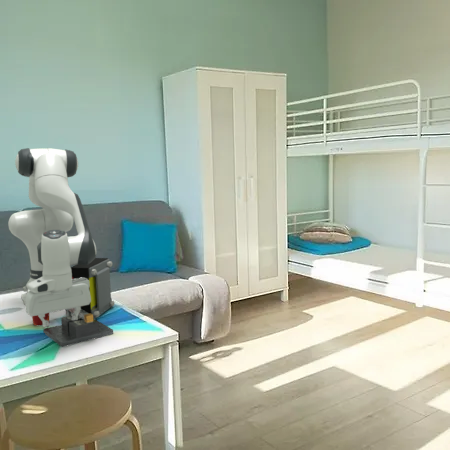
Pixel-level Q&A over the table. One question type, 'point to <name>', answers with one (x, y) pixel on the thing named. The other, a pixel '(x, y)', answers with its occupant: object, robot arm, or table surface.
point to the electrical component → (96, 285)
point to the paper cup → (37, 320)
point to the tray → (71, 339)
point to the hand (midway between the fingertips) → (60, 323)
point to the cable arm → (82, 315)
